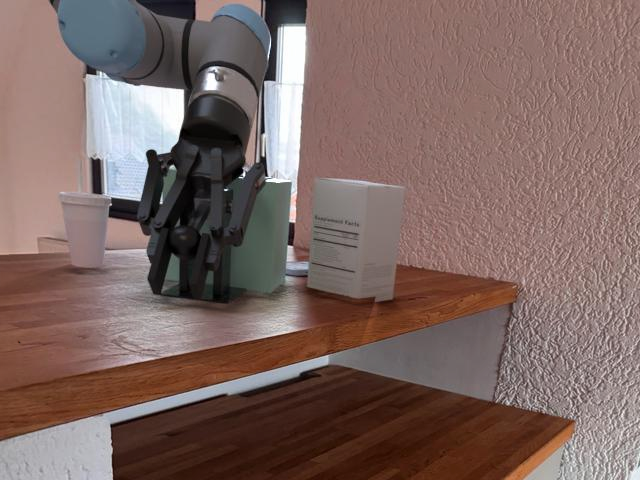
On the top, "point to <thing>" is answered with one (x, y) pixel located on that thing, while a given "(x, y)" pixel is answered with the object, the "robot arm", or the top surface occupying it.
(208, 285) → the lever bracket
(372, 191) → the rectangular carton
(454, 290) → the top surface
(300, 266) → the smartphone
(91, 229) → the smoothie
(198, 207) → the lever
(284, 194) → the grey-green box
